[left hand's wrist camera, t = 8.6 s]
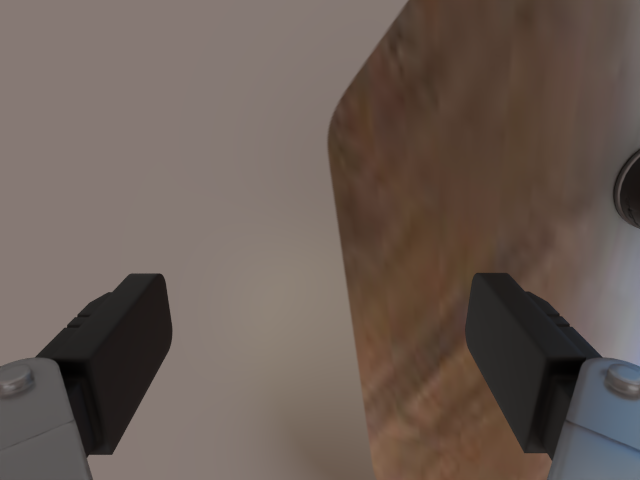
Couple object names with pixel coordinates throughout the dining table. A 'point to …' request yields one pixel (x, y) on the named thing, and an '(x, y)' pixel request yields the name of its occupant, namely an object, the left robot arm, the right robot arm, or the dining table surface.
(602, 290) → the dining table surface
